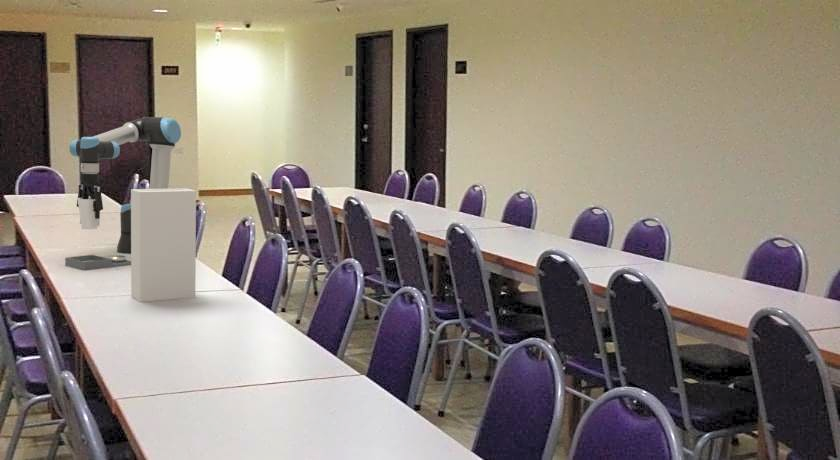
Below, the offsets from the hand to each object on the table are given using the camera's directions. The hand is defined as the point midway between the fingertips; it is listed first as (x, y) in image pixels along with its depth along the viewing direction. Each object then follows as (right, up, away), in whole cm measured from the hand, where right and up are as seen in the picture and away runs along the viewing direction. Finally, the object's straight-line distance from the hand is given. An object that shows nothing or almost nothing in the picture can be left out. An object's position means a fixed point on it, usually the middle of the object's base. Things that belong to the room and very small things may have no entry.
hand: (89, 224), depth 412 cm
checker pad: (+7, -16, +12) cm, 21 cm away
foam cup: (0, -2, 0) cm, 2 cm away
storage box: (+47, -27, -56) cm, 78 cm away
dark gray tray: (+3, -17, +6) cm, 19 cm away
